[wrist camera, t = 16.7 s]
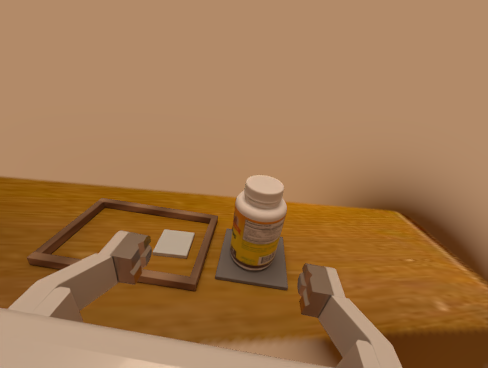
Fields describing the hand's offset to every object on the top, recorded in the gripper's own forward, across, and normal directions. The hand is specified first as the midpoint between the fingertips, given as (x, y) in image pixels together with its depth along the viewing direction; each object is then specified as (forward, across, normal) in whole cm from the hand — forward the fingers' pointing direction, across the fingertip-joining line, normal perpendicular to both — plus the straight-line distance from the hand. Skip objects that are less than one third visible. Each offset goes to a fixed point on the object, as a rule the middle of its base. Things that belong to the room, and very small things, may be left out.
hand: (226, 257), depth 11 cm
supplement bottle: (+11, -3, +12) cm, 17 cm away
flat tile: (+11, +7, +13) cm, 19 cm away
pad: (+11, -3, +12) cm, 17 cm away
